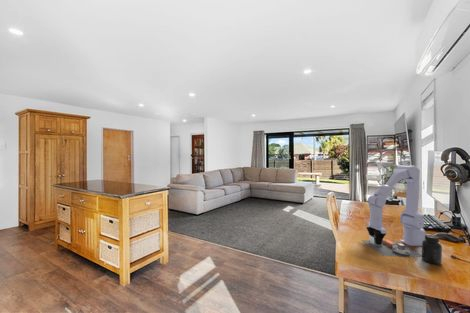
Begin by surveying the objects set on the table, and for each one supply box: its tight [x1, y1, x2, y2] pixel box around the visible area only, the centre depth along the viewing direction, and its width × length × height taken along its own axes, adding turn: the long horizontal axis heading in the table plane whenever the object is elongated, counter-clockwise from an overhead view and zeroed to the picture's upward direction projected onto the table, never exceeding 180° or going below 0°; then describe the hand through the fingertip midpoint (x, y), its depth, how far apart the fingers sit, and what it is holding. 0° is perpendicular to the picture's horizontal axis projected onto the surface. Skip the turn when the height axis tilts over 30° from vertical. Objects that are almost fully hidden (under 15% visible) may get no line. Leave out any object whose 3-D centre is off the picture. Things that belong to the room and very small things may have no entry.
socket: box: [368, 234, 383, 247], centre depth 119 cm, size 5×5×5 cm
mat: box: [361, 239, 422, 258], centre depth 115 cm, size 20×20×1 cm
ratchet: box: [383, 238, 410, 257], centre depth 114 cm, size 7×17×4 cm, turn 177°
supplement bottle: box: [421, 234, 443, 266], centre depth 100 cm, size 7×7×12 cm
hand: (375, 242), depth 119 cm, fingers closed on socket, 5 cm apart
